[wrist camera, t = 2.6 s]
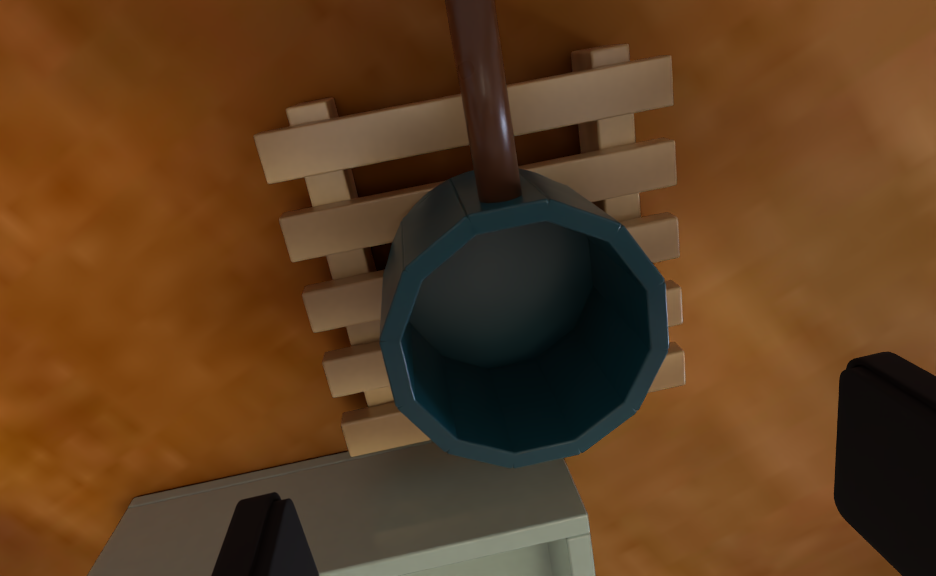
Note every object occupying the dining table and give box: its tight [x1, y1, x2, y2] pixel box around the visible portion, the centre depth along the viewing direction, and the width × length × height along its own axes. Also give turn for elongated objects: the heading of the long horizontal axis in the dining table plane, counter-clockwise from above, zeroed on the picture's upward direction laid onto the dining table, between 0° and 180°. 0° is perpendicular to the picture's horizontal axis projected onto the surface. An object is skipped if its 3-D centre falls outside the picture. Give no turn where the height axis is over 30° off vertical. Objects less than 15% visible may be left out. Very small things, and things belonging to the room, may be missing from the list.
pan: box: [379, 0, 669, 468], centre depth 15 cm, size 12×7×5 cm, turn 10°
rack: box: [254, 44, 686, 457], centre depth 20 cm, size 12×12×3 cm
